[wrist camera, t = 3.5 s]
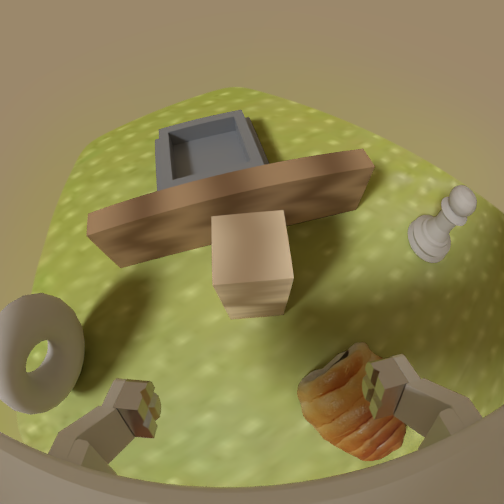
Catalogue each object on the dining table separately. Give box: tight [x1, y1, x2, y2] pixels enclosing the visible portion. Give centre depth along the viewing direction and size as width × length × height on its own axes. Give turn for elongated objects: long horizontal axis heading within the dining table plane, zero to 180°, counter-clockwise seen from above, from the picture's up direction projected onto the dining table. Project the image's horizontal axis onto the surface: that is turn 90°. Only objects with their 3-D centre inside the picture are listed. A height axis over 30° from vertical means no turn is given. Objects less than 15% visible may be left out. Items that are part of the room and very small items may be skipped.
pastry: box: [297, 342, 406, 461], centre depth 16 cm, size 9×7×4 cm
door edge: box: [87, 149, 375, 268], centre depth 22 cm, size 22×2×6 cm, turn 104°
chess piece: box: [408, 185, 477, 263], centre depth 19 cm, size 5×5×8 cm
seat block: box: [155, 110, 269, 191], centre depth 26 cm, size 11×11×3 cm
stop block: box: [211, 210, 294, 319], centre depth 18 cm, size 4×4×8 cm
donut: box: [0, 293, 85, 414], centre depth 15 cm, size 10×3×10 cm, turn 161°
